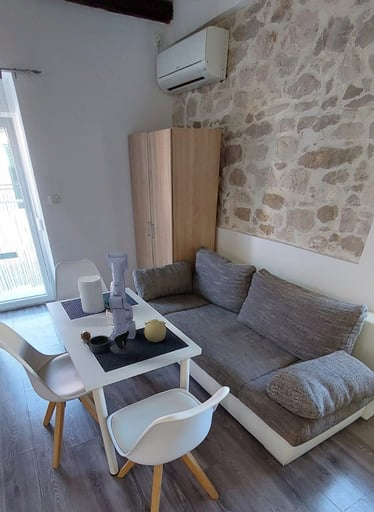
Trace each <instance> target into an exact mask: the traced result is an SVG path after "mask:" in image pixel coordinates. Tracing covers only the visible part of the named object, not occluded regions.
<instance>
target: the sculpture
mask: <svg viewBox="0 0 374 512" xmlns="http://www.w3.org/2000/svg"><path fill="white" fill-rule="evenodd" d="M166 324H167V323H166V322H165V321H164V320H159V319H157V318H154V319H152V320H147V321H145V322H144V325H145V326H144V336H145V338H146V340H147V341H148V342H152V343H159V342H162V341H163V340H164V339H165V338H166V334H167V327H166Z"/></svg>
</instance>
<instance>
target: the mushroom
mask: <svg viewBox="0 0 374 512" xmlns="http://www.w3.org/2000/svg"><path fill="white" fill-rule="evenodd" d="M91 338H92V335H91V333H90V332H89V331H87V330H85V331H82V333H81V334H80V339H81V341H82V342H83V344H89V340H90V339H91Z"/></svg>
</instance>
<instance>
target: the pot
mask: <svg viewBox="0 0 374 512" xmlns="http://www.w3.org/2000/svg"><path fill="white" fill-rule="evenodd" d="M88 345H89V349H90V352H92V353H93V354H105V353H107V352H109V351H111V346H112V343H111V340H110V337H109V336H107V335H101V334H100V335H95V336H93V337H92V336H91V338H90V340H89V343H88Z"/></svg>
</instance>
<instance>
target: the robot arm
mask: <svg viewBox="0 0 374 512" xmlns="http://www.w3.org/2000/svg"><path fill="white" fill-rule="evenodd" d="M128 255H129V254H128V253H127V252H110V253H109V252H107V253H106V256H105V258H106V259H105V260H106V265H107V267H108V268H109V270H111V271H112V272H111V273H112V281H111V282H110V296H109V297H108V304H109V309H110V313H111V315H112V316H111V317H112V325H113V327H112V329H111V330H112V332H111V333H110V335H109V336H108V337H109V338H110V341H114V342H115V343H116V344H117V346H118V348H120V349H122V348H123V339H124V343H125V346H126V343H127V342H128V340H135V338H136V335H137V325H136V324H137V323H136V320H134V312H133V306H132V305H131V304H130V303H129V302H127V293H126V281H125V273H126V271H127V270H129V256H128Z"/></svg>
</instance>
